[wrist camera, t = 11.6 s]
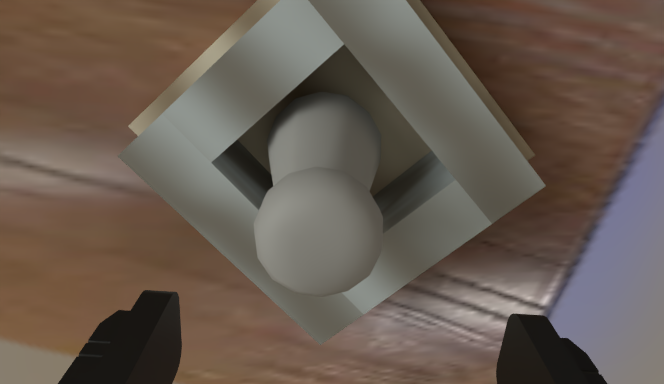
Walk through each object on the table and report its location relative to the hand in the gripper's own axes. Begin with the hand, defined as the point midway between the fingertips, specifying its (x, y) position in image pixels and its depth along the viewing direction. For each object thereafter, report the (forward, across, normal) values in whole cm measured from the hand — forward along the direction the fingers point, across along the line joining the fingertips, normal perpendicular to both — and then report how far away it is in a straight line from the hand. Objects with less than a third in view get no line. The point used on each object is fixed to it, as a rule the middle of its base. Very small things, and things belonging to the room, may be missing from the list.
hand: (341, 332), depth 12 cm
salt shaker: (+17, +1, 0) cm, 17 cm away
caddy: (+18, 0, 0) cm, 18 cm away
